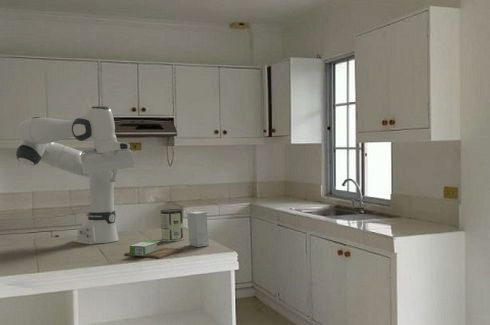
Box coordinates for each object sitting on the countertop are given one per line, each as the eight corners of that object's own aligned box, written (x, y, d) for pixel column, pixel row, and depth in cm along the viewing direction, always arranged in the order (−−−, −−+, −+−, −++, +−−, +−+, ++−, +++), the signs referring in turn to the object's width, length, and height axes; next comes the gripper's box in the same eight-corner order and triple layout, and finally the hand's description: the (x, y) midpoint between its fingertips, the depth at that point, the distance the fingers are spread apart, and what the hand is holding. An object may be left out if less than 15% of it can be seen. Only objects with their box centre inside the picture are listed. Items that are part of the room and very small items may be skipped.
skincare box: (209, 245, 232) (208, 212, 231) (196, 247, 228) (195, 213, 228) (199, 243, 239) (198, 210, 238) (187, 245, 235) (186, 211, 235)
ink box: (144, 256, 209) (161, 249, 221) (144, 246, 209) (161, 240, 221) (129, 255, 211) (147, 249, 224) (129, 245, 211) (146, 239, 224)
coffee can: (171, 237, 257) (170, 208, 257) (187, 238, 252) (186, 209, 251) (156, 240, 248) (155, 210, 248) (173, 242, 243) (172, 211, 242)
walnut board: (124, 255, 216) (124, 253, 216) (149, 248, 230) (149, 246, 230) (159, 258, 208) (159, 256, 208) (183, 251, 222) (183, 249, 221)
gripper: (82, 150, 198) (87, 187, 199) (133, 143, 209) (138, 178, 210) (77, 151, 203) (82, 186, 204) (127, 144, 214) (132, 177, 216)
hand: (111, 182), depth 207 cm, fingers closed
